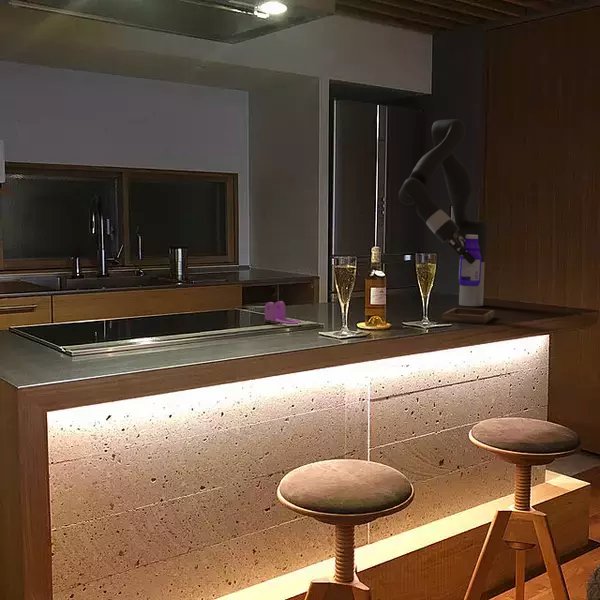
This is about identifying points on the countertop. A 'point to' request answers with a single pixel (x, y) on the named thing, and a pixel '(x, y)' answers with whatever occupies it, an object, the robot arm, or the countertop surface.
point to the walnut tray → (468, 315)
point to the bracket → (277, 313)
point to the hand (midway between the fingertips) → (475, 261)
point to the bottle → (467, 271)
